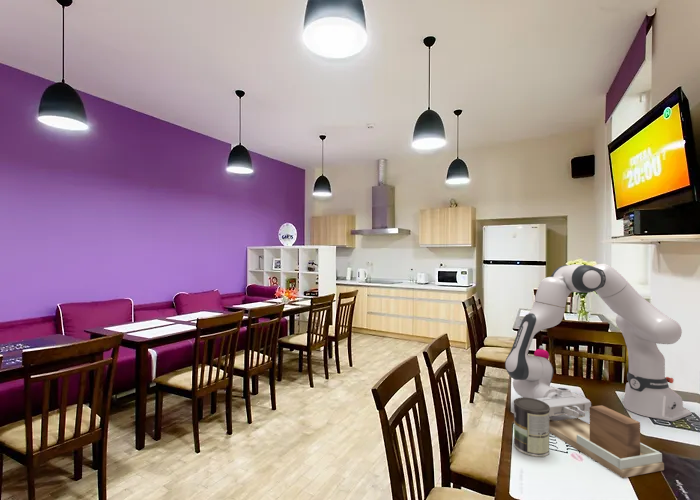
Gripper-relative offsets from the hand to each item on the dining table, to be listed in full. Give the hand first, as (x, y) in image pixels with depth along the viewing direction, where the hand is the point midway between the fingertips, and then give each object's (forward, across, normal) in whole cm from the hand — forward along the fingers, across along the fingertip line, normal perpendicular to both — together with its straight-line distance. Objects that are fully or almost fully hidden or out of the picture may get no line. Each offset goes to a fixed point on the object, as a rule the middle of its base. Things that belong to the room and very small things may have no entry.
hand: (581, 415), depth 121 cm
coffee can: (+1, -21, +8) cm, 22 cm away
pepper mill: (-38, +19, +8) cm, 44 cm away
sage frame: (+12, 0, +6) cm, 14 cm away
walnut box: (+12, 0, +6) cm, 13 cm away
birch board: (+6, 0, +8) cm, 10 cm away
